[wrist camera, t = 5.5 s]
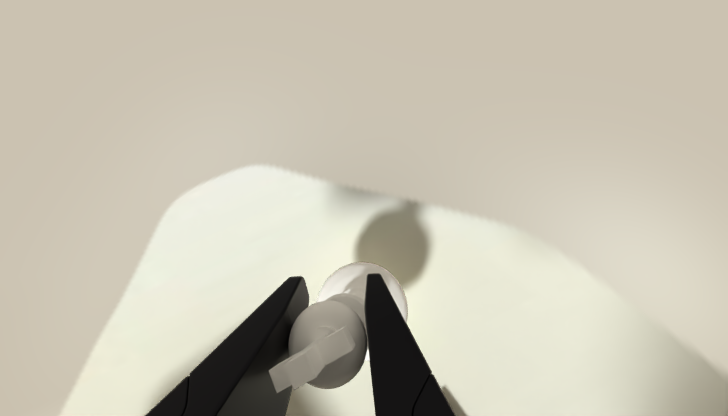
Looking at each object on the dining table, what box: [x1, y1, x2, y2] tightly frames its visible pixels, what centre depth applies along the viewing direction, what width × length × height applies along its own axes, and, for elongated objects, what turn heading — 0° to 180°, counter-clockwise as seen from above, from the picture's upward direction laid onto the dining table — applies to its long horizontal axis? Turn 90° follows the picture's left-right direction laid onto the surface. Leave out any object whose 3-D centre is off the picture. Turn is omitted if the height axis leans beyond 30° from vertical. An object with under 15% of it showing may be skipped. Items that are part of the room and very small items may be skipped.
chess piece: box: [269, 262, 408, 393], centre depth 9 cm, size 5×5×10 cm
